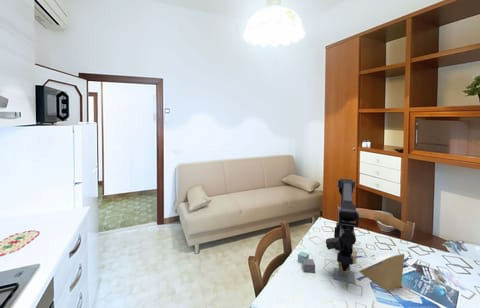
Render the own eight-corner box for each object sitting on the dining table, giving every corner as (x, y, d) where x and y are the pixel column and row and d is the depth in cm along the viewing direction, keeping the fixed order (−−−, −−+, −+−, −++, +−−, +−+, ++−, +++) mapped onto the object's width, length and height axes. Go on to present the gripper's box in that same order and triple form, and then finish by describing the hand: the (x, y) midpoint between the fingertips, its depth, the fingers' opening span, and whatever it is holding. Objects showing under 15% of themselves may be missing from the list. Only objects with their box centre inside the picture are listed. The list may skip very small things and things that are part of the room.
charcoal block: (301, 266, 121) (302, 258, 120) (312, 267, 120) (312, 259, 120) (303, 272, 116) (304, 264, 115) (314, 273, 115) (315, 265, 115)
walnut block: (338, 266, 116) (339, 256, 116) (349, 268, 114) (350, 258, 114) (338, 271, 112) (339, 261, 112) (349, 274, 110) (350, 263, 110)
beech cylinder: (346, 257, 129) (347, 248, 128) (355, 259, 127) (356, 250, 126) (346, 262, 125) (347, 252, 124) (356, 264, 123) (356, 254, 122)
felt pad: (334, 267, 119) (334, 267, 119) (354, 272, 116) (354, 271, 116) (332, 278, 111) (332, 277, 111) (354, 283, 108) (354, 283, 108)
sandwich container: (371, 267, 120) (373, 238, 119) (401, 287, 106) (405, 253, 104) (357, 271, 117) (360, 240, 116) (387, 291, 103) (390, 257, 101)
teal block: (301, 258, 128) (301, 251, 127) (308, 261, 125) (308, 253, 125) (297, 261, 125) (297, 254, 124) (305, 264, 122) (305, 257, 122)
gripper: (329, 224, 123) (327, 254, 125) (325, 240, 106) (323, 274, 108) (353, 228, 119) (351, 259, 120) (354, 246, 102) (351, 281, 103)
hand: (344, 268), depth 113 cm, fingers closed on walnut block, 4 cm apart
